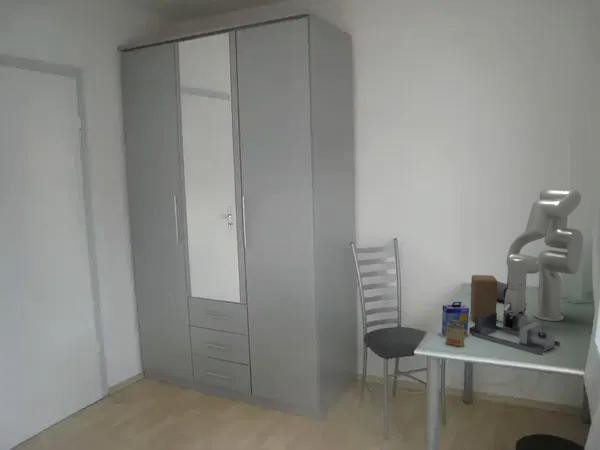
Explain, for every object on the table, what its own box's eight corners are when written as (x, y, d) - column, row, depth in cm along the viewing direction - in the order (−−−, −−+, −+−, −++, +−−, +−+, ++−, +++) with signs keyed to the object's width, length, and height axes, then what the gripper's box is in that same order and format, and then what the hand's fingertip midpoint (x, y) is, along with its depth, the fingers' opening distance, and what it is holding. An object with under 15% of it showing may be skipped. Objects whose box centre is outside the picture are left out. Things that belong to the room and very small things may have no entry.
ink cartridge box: (445, 336, 210) (446, 303, 208) (440, 332, 215) (441, 299, 213) (468, 336, 210) (469, 302, 209) (463, 331, 216) (464, 298, 214)
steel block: (508, 326, 223) (509, 311, 222) (526, 331, 217) (527, 315, 216) (502, 328, 220) (503, 313, 219) (520, 333, 214) (521, 317, 213)
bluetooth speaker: (469, 294, 279) (470, 276, 278) (482, 292, 283) (482, 275, 282) (501, 304, 258) (502, 285, 257) (514, 302, 262) (515, 283, 261)
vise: (487, 326, 223) (487, 309, 222) (560, 345, 198) (561, 326, 198) (466, 334, 213) (467, 316, 212) (540, 355, 189) (541, 334, 188)
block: (496, 323, 227) (497, 279, 225) (472, 322, 229) (474, 278, 227) (492, 316, 237) (493, 275, 235) (470, 315, 239) (471, 274, 237)
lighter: (444, 343, 202) (445, 319, 200) (447, 341, 205) (448, 317, 204) (462, 347, 198) (463, 322, 197) (465, 344, 201) (466, 319, 200)
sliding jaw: (534, 339, 205) (534, 321, 204) (556, 345, 198) (557, 327, 197) (518, 346, 197) (519, 327, 196) (541, 352, 190) (542, 333, 189)
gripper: (518, 281, 224) (516, 319, 226) (497, 287, 214) (495, 327, 215) (534, 284, 219) (532, 323, 220) (514, 290, 208) (512, 331, 210)
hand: (514, 325), depth 218 cm, fingers open, 9 cm apart
